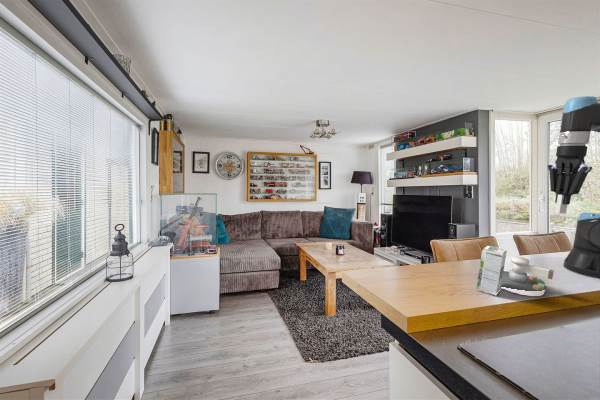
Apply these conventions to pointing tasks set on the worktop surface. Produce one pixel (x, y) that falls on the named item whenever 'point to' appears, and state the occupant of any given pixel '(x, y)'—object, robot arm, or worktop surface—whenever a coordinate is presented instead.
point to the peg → (530, 268)
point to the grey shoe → (522, 281)
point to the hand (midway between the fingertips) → (560, 212)
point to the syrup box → (491, 269)
